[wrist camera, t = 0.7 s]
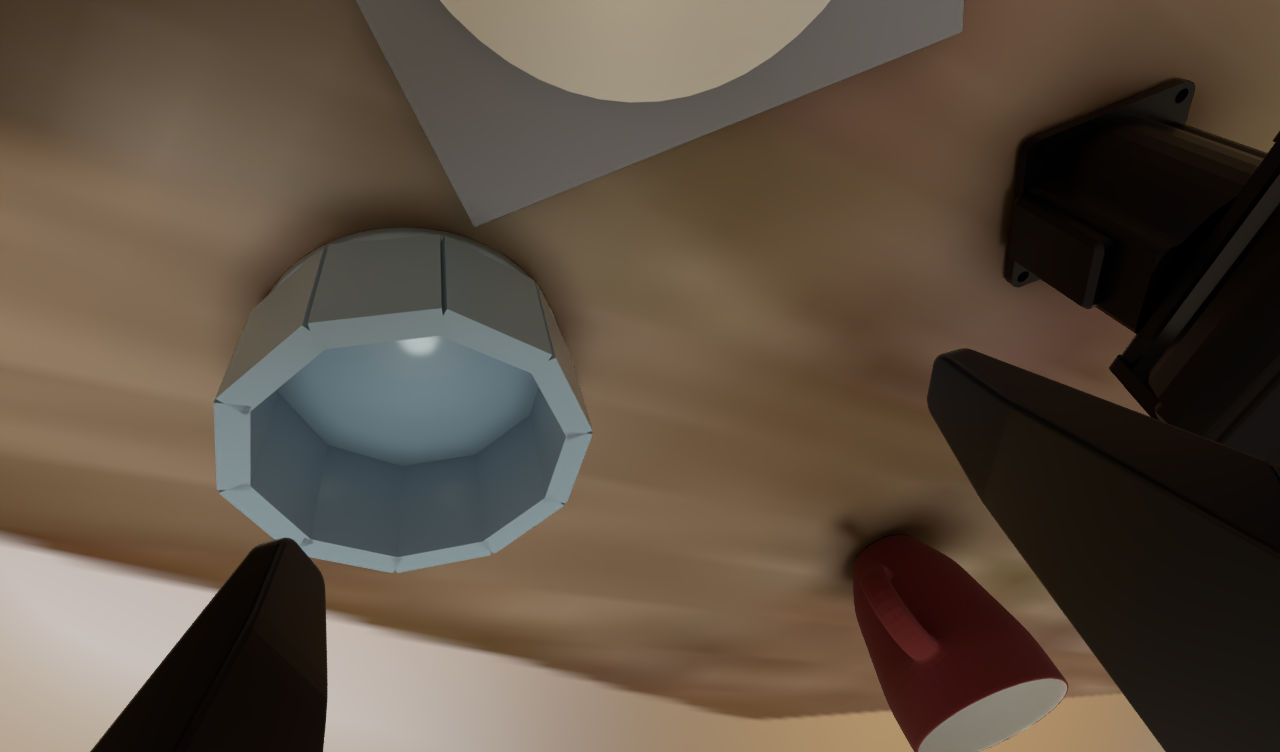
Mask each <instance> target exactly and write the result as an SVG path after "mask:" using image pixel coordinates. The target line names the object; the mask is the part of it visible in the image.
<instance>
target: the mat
mask: <svg viewBox="0 0 1280 752" xmlns="http://www.w3.org/2000/svg"><path fill="white" fill-rule="evenodd" d="M355 1H356V3H357V4H358V6H359V8H360V10H361V12H362V14H363V16H364V18H365V20H366V22H367V24H368V25H369V27H370V29H371V31H372V33H373V35H374V37H375V39H376V41H377V43H378V45H379V46H380V48H381V50H382V52H383V54H384V56H385V58H386V60H387V62H388V64H389V66H390V67H391V69H392V71H393V73H394V75H395V77H396V79H397V81H398V83H399V85H400V86H401V88H402V90H403V92H404V94H405V96H406V98H407V100H408V102H409V104H410V106H411V107H412V109H413V111H414V113H415V115H416V117H417V119H418V121H419V123H420V125H421V127H422V128H423V130H424V132H425V134H426V136H427V138H428V140H429V142H430V144H431V146H432V148H433V149H434V151H435V153H436V155H437V157H438V159H439V161H440V163H441V165H442V167H443V169H444V170H445V172H446V174H447V176H448V178H449V180H450V182H451V184H452V186H453V188H454V190H455V191H456V193H457V195H458V197H459V199H460V201H461V203H462V205H463V207H464V209H465V211H466V212H467V214H468V216H469V218H470V220H471V222H472V224H473V226H474V227H476V226H479V225H481V224H484V223H486V222H489V221H491V220H494V219H496V218H499V217H501V216H504V215H506V214H509V213H511V212H514V211H516V210H519V209H521V208H524V207H526V206H529V205H531V204H534V203H536V202H539V201H541V200H544V199H546V198H549V197H551V196H554V195H556V194H559V193H561V192H564V191H566V190H569V189H571V188H574V187H576V186H579V185H581V184H584V183H586V182H589V181H591V180H594V179H596V178H599V177H601V176H604V175H606V174H609V173H611V172H614V171H616V170H619V169H621V168H624V167H626V166H629V165H631V164H634V163H636V162H639V161H641V160H644V159H646V158H649V157H651V156H654V155H656V154H659V153H661V152H664V151H666V150H669V149H671V148H674V147H676V146H679V145H681V144H684V143H686V142H689V141H691V140H694V139H696V138H699V137H701V136H704V135H706V134H709V133H711V132H714V131H716V130H719V129H721V128H724V127H726V126H729V125H731V124H734V123H736V122H739V121H741V120H744V119H746V118H749V117H751V116H754V115H756V114H759V113H761V112H764V111H766V110H769V109H771V108H774V107H776V106H779V105H781V104H784V103H786V102H789V101H791V100H794V99H796V98H799V97H801V96H804V95H806V94H809V93H811V92H814V91H816V90H819V89H821V88H824V87H826V86H829V85H831V84H834V83H836V82H839V81H841V80H844V79H846V78H849V77H851V76H854V75H856V74H859V73H861V72H864V71H866V70H869V69H871V68H874V67H876V66H879V65H881V64H884V63H886V62H889V61H891V60H894V59H896V58H899V57H901V56H904V55H906V54H909V53H911V52H914V51H916V50H919V49H921V48H924V47H926V46H929V45H931V44H934V43H936V42H939V41H941V40H944V39H946V38H949V37H951V36H954V35H956V34H959V33H961V32H962V31H963V8H964V0H830V2H829V3H828V4H827V5H826V7H825V8H824V9H823V10H822V11H821V12H820V13H819V14H818V16H817V17H816V18H815V19H814V20H813V21H812V22H811V23H810V24H809V25H808V26H807V27H806V28H805V29H804V30H803V31H802V32H801V33H800V34H799V35H798V36H797V37H796V38H794V39H793V40H792V41H791V42H789V43H788V44H787V45H786V46H785V47H783V48H782V49H781V50H780V51H778V52H777V53H776V54H775V55H774V56H772V57H771V58H769V59H768V60H766V61H765V62H763V63H761V64H760V65H758V66H757V67H755V68H754V69H752V70H750V71H749V72H747V73H746V74H744V75H742V76H740V77H737V78H735V79H733V80H731V81H729V82H727V83H725V84H723V85H721V86H719V87H716V88H713V89H710V90H707V91H704V92H701V93H697V94H694V95H691V96H688V97H682V98H676V99H671V100H665V101H660V102H632V103H629V102H620V101H610V100H601V99H596V98H592V97H588V96H584V95H580V94H576V93H572V92H569V91H566V90H564V89H561V88H559V87H556V86H554V85H551V84H549V83H546V82H544V81H541V80H539V79H537V78H535V77H534V76H532V75H530V74H528V73H527V72H525V71H523V70H521V69H520V68H518V67H516V66H514V65H512V64H511V63H509V62H508V61H506V60H505V59H504V58H502V57H501V56H500V55H498V54H497V53H496V52H494V51H493V50H492V49H490V48H489V47H488V46H486V45H485V44H484V43H482V42H481V41H480V40H478V39H477V38H476V37H475V36H474V35H473V34H472V33H471V32H470V31H469V30H468V29H467V28H466V27H465V26H464V25H463V24H462V23H461V22H460V21H458V20H457V19H456V18H455V17H454V16H453V15H452V14H451V13H450V12H449V11H448V9H447V8H446V7H445V6H444V5H443V3H442V2H441V1H440V0H355Z"/></svg>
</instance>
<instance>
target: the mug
mask: <svg viewBox="0 0 1280 752" xmlns="http://www.w3.org/2000/svg"><path fill="white" fill-rule="evenodd" d="M853 589H854V605H855V612H856V616H857V620H858V623H859V626H860V629H861V632H862V634H863V637H864V640H865V643H866V645H867V648H868V651H869V654H870V657H871V659H872V662H873V665H874V668H875V670H876V673H877V676H878V679H879V681H880V684H881V687H882V690H883V692H884V695H885V697H886V700H887V702H888V704H889V707H890V709H891V711H892V713H893V715H894V717H895V718H896V720H897V722H898V724H899V725H900V727H901V729H902V731H903V733H904V735H905V736H906V738H907V740H908V742H909V743H910V745H911V747H912V749H913V750H914V752H979V751H982V750H985V749H987V748H990V747H992V746H994V745H996V744H999V743H1001V742H1003V741H1004V740H1007V739H1009V738H1011V737H1013V736H1015V735H1016V734H1018V733H1020V732H1022V731H1023V730H1025V729H1027V728H1028V727H1030V726H1031V725H1033V724H1035V723H1036V722H1038V721H1039V720H1040V719H1042V718H1043V717H1044V716H1046V715H1047V714H1048V713H1050V712H1051V711H1052V710H1053V709H1054V708H1055V707H1056V706H1057V705H1058V704H1059V703H1060V702H1061V701H1062V699H1063V698H1064V697H1065V695H1066V693H1067V691H1068V683H1067V681H1066V680H1065V678H1064V677H1063V676H1062V674H1061V673H1060V671H1059V670H1058V669H1057V667H1056V666H1055V665H1054V663H1053V662H1052V661H1051V659H1050V658H1049V657H1048V655H1047V654H1046V653H1045V651H1044V650H1043V649H1042V648H1041V646H1040V645H1039V644H1038V642H1037V641H1036V640H1035V639H1034V638H1033V637H1032V635H1031V634H1030V633H1029V632H1028V631H1027V630H1026V629H1025V628H1024V627H1023V626H1022V625H1021V624H1020V623H1019V622H1018V621H1017V620H1016V619H1015V618H1014V617H1013V616H1012V615H1011V614H1010V613H1009V612H1008V611H1007V610H1006V609H1005V608H1004V607H1003V606H1002V605H1001V604H1000V603H999V602H998V601H997V600H996V599H994V598H993V597H992V596H991V595H990V594H989V593H988V592H987V591H986V590H985V589H984V588H983V587H982V586H981V585H980V584H979V583H978V582H977V581H976V580H975V579H974V578H972V577H971V576H970V575H969V574H968V573H967V572H966V571H965V570H964V569H963V568H962V567H961V566H960V565H959V564H957V563H956V562H955V561H953V560H952V559H951V558H949V557H948V556H946V555H944V554H943V553H941V552H939V551H937V550H935V549H933V548H931V547H930V546H928V545H926V544H924V543H922V542H920V541H918V540H916V539H914V538H912V537H909V536H906V535H894V536H889V537H886V538H883V539H881V540H878V541H876V542H875V543H873V544H871V545H870V546H868V547H867V548H866V549H865V550H863V551H862V552H861V553H860V555H859V556H858V557H857V559H856V560H855V563H854V566H853Z"/></svg>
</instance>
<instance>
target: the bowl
mask: <svg viewBox="0 0 1280 752" xmlns="http://www.w3.org/2000/svg"><path fill="white" fill-rule="evenodd" d="M214 428H215V454H216V480H217V490H220V491H219V494H221V495H222V496H223V497H224V498H225V499H227V500H228V501H229V502H230V503H231V504H233V505H234V506H235V507H236V508H237V509H239V510H240V511H241V512H242V513H243V514H245V515H246V516H247V517H248V518H250V519H251V520H252V521H253V522H254V523H256V524H257V525H258V526H259V527H260V528H262V529H263V530H264V531H265V532H266V533H268V534H269V535H270V536H271V537H272V538H274V539H275V540H277V539H281V538H291V539H293V540H294V541H295V542H296V543H297V544H298V545H299V546H300V547H301V548H302V550H303V551H304V552H305V553H306V554H307V556H308V557H312V558H317V559H322V560H328V561H333V562H338V563H343V564H348V565H353V566H359V567H364V568H369V569H374V570H379V571H384V572H390V573H393V572H394V570H395V569H396V572H397V573H400V572H405V571H410V570H416V569H421V568H426V567H431V566H436V565H442V564H447V563H452V562H457V561H463V560H468V559H473V558H478V557H484V556H489V555H491V552H493V553H496V552H498V551H499V550H501V549H502V548H504V547H505V546H507V545H508V544H509V543H511V542H512V541H514V540H515V539H517V538H518V537H520V536H521V535H523V534H524V533H525V532H527V531H528V530H530V529H531V528H533V527H534V526H536V525H537V524H538V523H540V522H541V521H543V520H544V519H546V518H547V517H549V516H550V515H552V514H553V513H554V512H556V511H557V510H559V509H560V508H562V507H563V506H564V503H567V501H568V498H569V495H570V493H571V490H572V487H573V485H574V482H575V480H576V477H577V474H578V472H579V469H580V466H581V464H582V461H583V458H584V456H585V453H586V450H587V448H588V445H589V442H590V440H591V437H592V427H591V424H590V420H589V417H588V413H587V410H586V406H585V403H584V399H583V395H582V392H581V388H580V385H579V381H578V378H577V374H576V371H575V367H574V364H573V360H572V357H571V353H570V351H569V349H568V347H567V345H566V342H565V340H564V338H563V336H562V334H561V332H560V330H559V328H558V325H557V321H556V319H555V316H554V313H553V311H552V308H551V306H550V304H549V303H548V301H547V299H546V297H545V296H544V294H543V292H542V291H541V290H540V288H539V286H538V284H537V283H535V282H534V280H533V279H531V278H530V277H529V276H528V275H527V274H526V273H525V272H524V271H523V270H522V269H521V268H520V267H519V266H518V265H516V264H515V263H513V262H512V261H511V260H509V259H508V258H507V257H505V256H504V255H502V254H500V253H499V252H497V251H495V250H493V249H492V248H490V247H488V246H486V245H484V244H481V243H479V242H476V241H474V240H472V239H469V238H467V237H463V236H460V235H456V234H453V233H449V232H445V231H439V230H433V229H426V228H412V227H394V228H380V229H374V230H368V231H363V232H358V233H354V234H351V235H348V236H345V237H342V238H339V239H336V240H333V241H331V242H329V243H327V244H325V245H323V246H321V247H319V248H317V249H315V250H313V251H312V252H310V253H309V254H307V255H306V256H304V257H303V258H301V259H300V260H298V261H297V262H296V263H295V264H294V265H293V266H291V267H290V268H289V269H288V270H287V271H286V272H285V273H284V274H283V275H282V276H281V277H280V279H279V280H278V281H277V283H276V284H275V285H274V286H273V288H272V289H271V291H270V293H269V294H268V296H267V297H266V298H265V299H263V300H262V301H261V302H260V303H259V304H258V305H257V306H255V307H254V308H253V309H252V310H251V312H250V314H249V317H248V319H247V322H246V324H245V327H244V329H243V332H242V334H241V336H240V339H239V341H238V344H237V346H236V349H235V351H234V354H233V356H232V359H231V361H230V364H229V366H228V368H227V371H226V373H225V376H224V378H223V381H222V383H221V386H220V388H219V391H218V393H217V395H216V398H215V400H214Z"/></svg>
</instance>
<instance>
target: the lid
mask: <svg viewBox="0 0 1280 752" xmlns="http://www.w3.org/2000/svg"><path fill="white" fill-rule="evenodd" d="M440 1H441V2H442V3H443V5H444V6H445V7H446V8H447V9H448V11H449V12H450V13H451V14H452V15H453V16H454V17H455V18H456V19H457V20H458V21H460V22H461V23H462V24H463V25H464V26H465V27H466V28H467V29H468V30H469V31H470V32H471V33H472V34H473V35H474V36H475V37H476V38H477V39H478V40H480V41H481V42H482V43H484V44H485V45H486V46H488V47H489V48H490V49H492V50H493V51H494V52H496V53H497V54H498V55H500V56H501V57H502V58H504V59H505V60H506V61H508V62H509V63H511V64H512V65H514V66H516V67H518V68H520V69H521V70H523V71H525V72H527V73H528V74H530V75H532V76H534V77H535V78H537V79H539V80H541V81H544V82H546V83H549V84H551V85H554V86H556V87H559V88H561V89H564V90H566V91H569V92H572V93H576V94H580V95H584V96H588V97H592V98H596V99H601V100H610V101H620V102H629V103H632V102H660V101H665V100H671V99H676V98H682V97H688V96H691V95H694V94H697V93H701V92H704V91H707V90H710V89H713V88H716V87H719V86H721V85H723V84H725V83H727V82H729V81H731V80H733V79H735V78H737V77H740V76H742V75H744V74H746V73H747V72H749V71H750V70H752V69H754V68H755V67H757V66H758V65H760V64H761V63H763V62H765V61H766V60H768V59H769V58H771V57H772V56H774V55H775V54H776V53H777V52H778V51H780V50H781V49H782V48H783V47H785V46H786V45H787V44H788V43H789V42H791V41H792V40H793V39H794V38H796V37H797V36H798V35H799V34H800V33H801V32H802V31H803V30H804V29H805V28H806V27H807V26H808V25H809V24H810V23H811V22H812V21H813V20H814V19H815V18H816V17H817V16H818V14H819V13H820V12H821V11H822V10H823V9H824V8H825V7H826V5H827V4H828V3H829V2H830V0H440Z"/></svg>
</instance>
